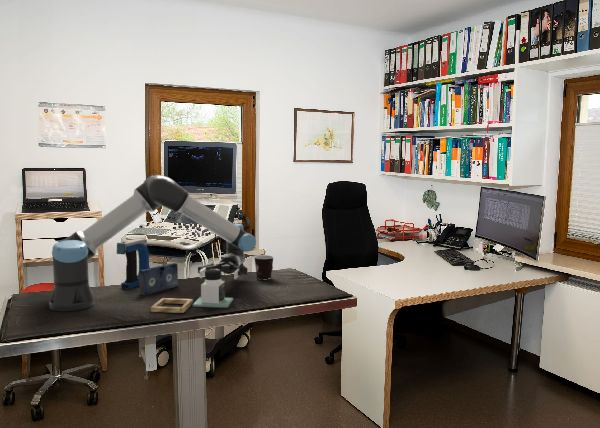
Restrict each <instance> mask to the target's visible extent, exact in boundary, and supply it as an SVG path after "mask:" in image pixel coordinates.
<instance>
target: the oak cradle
mask: <svg viewBox="0 0 600 428" xmlns="http://www.w3.org/2000/svg"><path fill="white" fill-rule="evenodd" d="M164 304H175V305H177V304H178V305H179V304H180V305H182V306H181V307H180V306H163V305H164ZM193 304H194V299H193V298H174V297H171V298H169V297H168V298H166V297H162V298H161V299H159V300H157V302H155V303H154V304H153V305H152V306H150V312H151V313H155V312H156V313H173V314H175V313H177V314H179V313H180V314H181V313H182V314H183V313H185V312H186V311H187V310H188V309H189V308H190V307H191V306H193Z"/></svg>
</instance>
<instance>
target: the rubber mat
mask: <svg viewBox="0 0 600 428" xmlns="http://www.w3.org/2000/svg"><path fill="white" fill-rule="evenodd" d="M233 301H234V298H233V297H225V299H224V300H223V301H222V302H221V303H220V304H212V303H201V296H199V297H198V298H197V299H196V300H195V302H193V304H192V307H200V308H202V307H203V308H228V307H230V305H231V303H232V302H233Z"/></svg>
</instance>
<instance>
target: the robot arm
mask: <svg viewBox="0 0 600 428" xmlns="http://www.w3.org/2000/svg"><path fill="white" fill-rule="evenodd" d="M160 207H164V208H167V210H171V211H172V212H174V213H176V214H177V213H180V214H182V215H183V216H185V217H187V218H189V219H190V220H192V221H194V222H195V223H196V224H199V225H200V226H202V227H203V228H204V229H206V230H208V231H209V232H211V233H213V234H215V235H216V236H218V237H220V238H221V239H223V240H225V241H226V255H224V257H222V259H221V260H220V261H219V263H215V262H211V263H209V264H204V265H200V266H198V267H197V274H199V279H203V277H204V278H205V271H206V270H209V269H218V270H220V271H221V273H223V274H225V275H226V274H227V275H232V274H233V279H234V280H237V279H238V278H239V277H240V276H243V275H245V276H247V275H248V273H249V272H248V269H249V268H248V267H246V266H245V265H244V262H245V260H246V255H245V254H246V253H250V252H252V251H253V250H254V249H255V248H256V246H257V239H256V237H255V236H254V235H253V234H251V233H248V232H247V231H245V228H244V225H243V224H242V223H240V224H239V223H233V222H231V221H229V220H228V219H227V218H225V217H224V216H222V215H220V214H218V212H215V211H214V210H212V209H211V208H209V207H208V206H207V205H204V204H203V203H201V202H200V201H198V200H197V199H195V198H194V197H192V196H191V194H190V192H189V191H188V190H186V189H185V188H183V186H181V185H179V184H178V183H177V182H176V181H175V180H173V179H172V178H170V177H169V176H165V175H160V174H154V175H150V176H149V177H147V178H146V179H145V180H144V181H143V183H141V184H140V185H138V186H137V187H136V188H134V190H133V194H132V195H131V196H130V197H128V198H127V199H125V200H124V201H123V202H122V203H120V204H119V205H118V206H116V207H114V208H113V209H112V210H110V211H109V212H108V213H107V214H104V216H102V217H101V218H100V219H97V221H95V222H94V223H92V224H91V225H89V227H87V228H86V229H85V230H83V231H78V230H76V231H75V232H74V233H71V235H70V236H68V237H66V238H63V239H61V240H60V241H58V242H56V243H54V244H53V246H52V250H51V256H52V267H53V268H52V269H53V271H52V272H53V273H52V274H53V275H52V276H53V289H52V293H51V295H50V299H49V301H48V302H49V309H50V310H52V311H55V312H74V311H80V310H81V311H82V310H85V309H88V308H91V307H93V306H94V305H95V304H96V303H95V302H96V301H95V296H94V293H93V291H92V289H91V286H90V282H89V281H90V279H89V260H91V259H92V258H93V257H95V256H96V255H97V251H98V248H100V247H101V246H103V245H104V244H105V243H107V242H108V241H109V240H111V239H112V238H113V237H114V236H116V235H118V234H119V233H120V232H121V231H123V230H125V228H127V227H128V226H129V225H131V224H132V223H133V222H135V221H137V220H138V219H140V218H141V216H144V214H146V213H147V212H148V213H153V212H155V211H156V210H157V209H158V208H160ZM245 252H246V253H245Z"/></svg>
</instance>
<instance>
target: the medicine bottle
mask: <svg viewBox="0 0 600 428" xmlns="http://www.w3.org/2000/svg"><path fill="white" fill-rule="evenodd" d="M200 297H201V303H212V304H220V303H221V302H222V301H223V300H224V299H225V298H226V281H225V280H222V272H221V271H220V270H218V269H209V270H206V271H205V276H204V282H203V283H202V284H200Z"/></svg>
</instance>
